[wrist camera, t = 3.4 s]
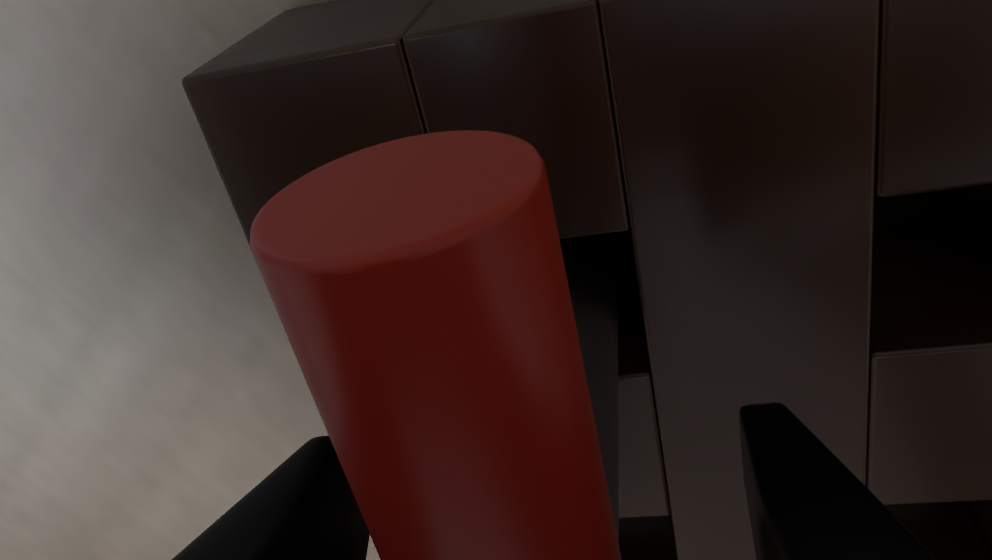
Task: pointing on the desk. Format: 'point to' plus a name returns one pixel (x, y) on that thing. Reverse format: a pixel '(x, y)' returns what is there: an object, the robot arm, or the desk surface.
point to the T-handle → (454, 346)
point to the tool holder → (701, 215)
